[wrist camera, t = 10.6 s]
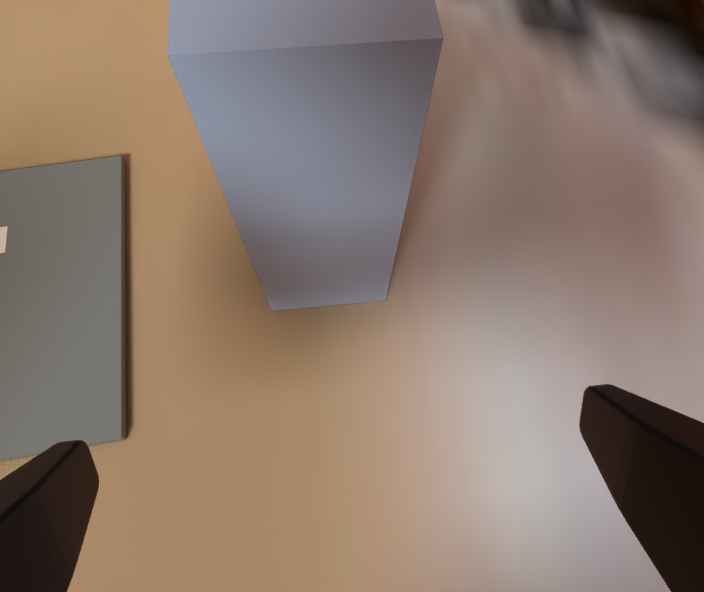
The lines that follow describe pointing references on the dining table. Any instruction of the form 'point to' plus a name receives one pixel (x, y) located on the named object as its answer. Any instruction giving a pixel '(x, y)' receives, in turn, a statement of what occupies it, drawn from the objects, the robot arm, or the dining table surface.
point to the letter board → (62, 306)
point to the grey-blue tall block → (311, 131)
